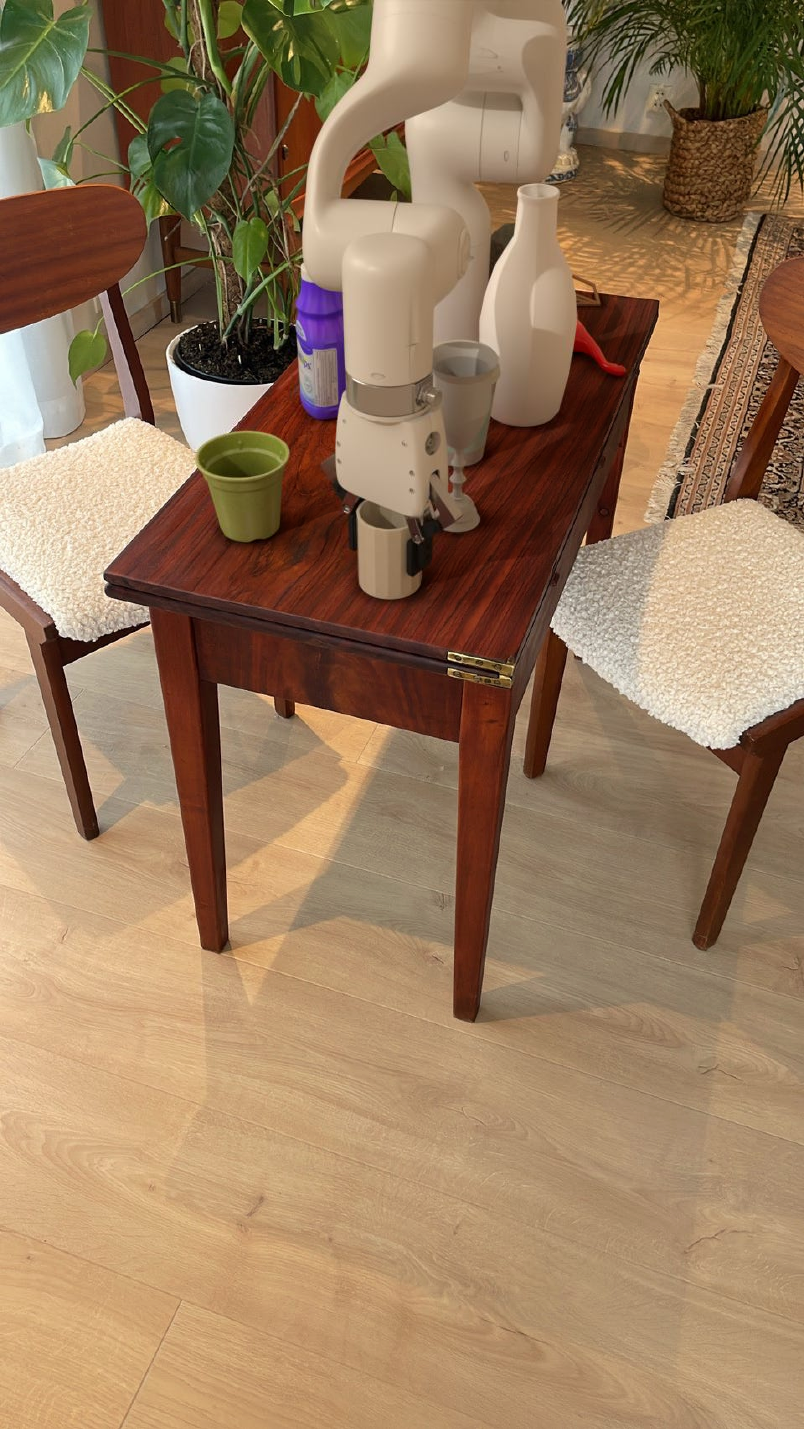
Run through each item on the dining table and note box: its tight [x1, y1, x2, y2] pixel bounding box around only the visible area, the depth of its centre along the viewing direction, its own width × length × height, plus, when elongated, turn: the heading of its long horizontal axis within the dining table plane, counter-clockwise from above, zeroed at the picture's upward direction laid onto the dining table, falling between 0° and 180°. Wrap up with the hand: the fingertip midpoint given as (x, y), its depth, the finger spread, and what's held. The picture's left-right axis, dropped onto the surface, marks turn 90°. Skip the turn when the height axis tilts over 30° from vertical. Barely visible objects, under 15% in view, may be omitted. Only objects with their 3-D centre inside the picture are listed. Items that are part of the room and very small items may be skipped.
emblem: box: [572, 274, 602, 307], centre depth 164 cm, size 12×10×1 cm
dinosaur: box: [572, 313, 627, 377], centre depth 149 cm, size 4×15×12 cm
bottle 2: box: [479, 183, 578, 428], centre depth 131 cm, size 11×11×25 cm
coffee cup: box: [433, 340, 501, 467], centre depth 128 cm, size 8×8×12 cm
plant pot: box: [194, 430, 290, 543], centre depth 118 cm, size 9×9×9 cm
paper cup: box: [356, 500, 424, 600], centre depth 112 cm, size 6×6×8 cm
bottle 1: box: [295, 262, 346, 421], centre depth 134 cm, size 7×6×17 cm
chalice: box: [433, 342, 498, 533], centre depth 116 cm, size 7×7×18 cm
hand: (389, 555), depth 112 cm, fingers closed on paper cup, 6 cm apart
